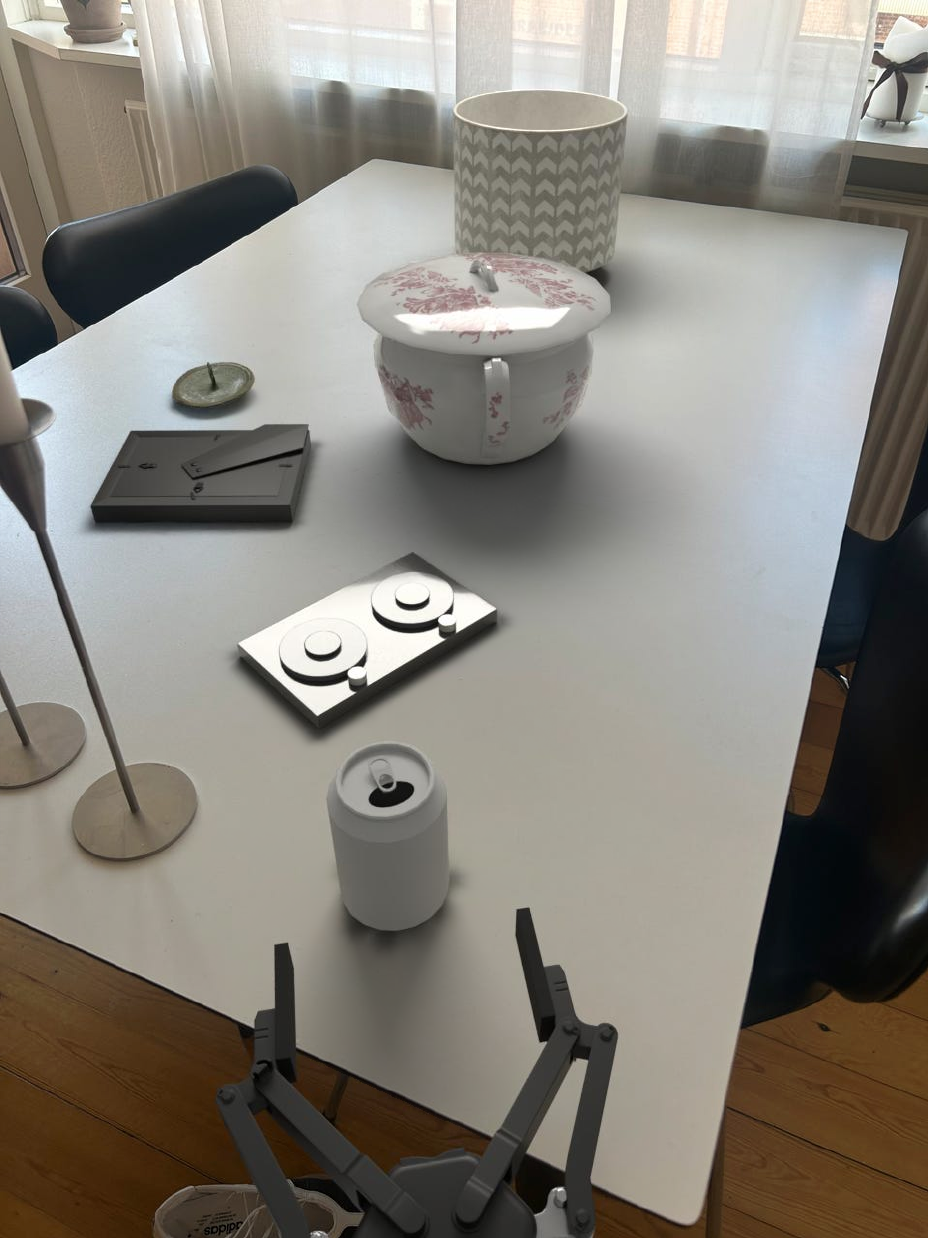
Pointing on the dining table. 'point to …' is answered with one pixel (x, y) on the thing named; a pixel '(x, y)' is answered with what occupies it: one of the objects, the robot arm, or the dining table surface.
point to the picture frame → (206, 476)
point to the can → (390, 835)
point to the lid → (212, 385)
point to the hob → (365, 637)
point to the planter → (539, 175)
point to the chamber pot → (484, 350)
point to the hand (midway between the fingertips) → (404, 938)
